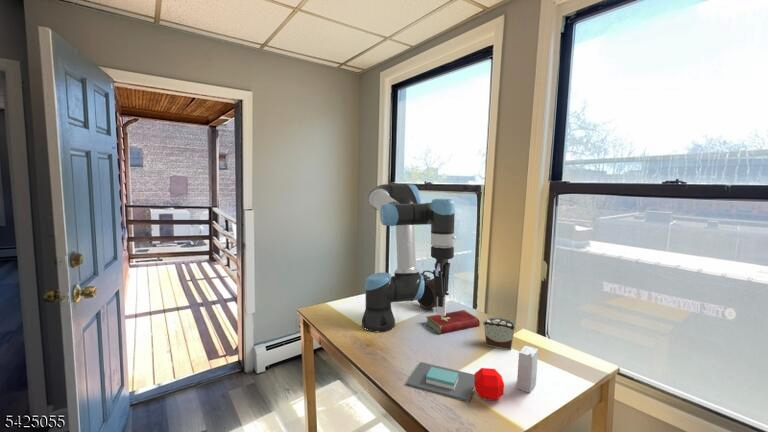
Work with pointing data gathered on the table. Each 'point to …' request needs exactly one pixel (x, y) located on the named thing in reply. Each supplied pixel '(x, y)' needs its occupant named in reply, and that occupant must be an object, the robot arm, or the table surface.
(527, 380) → the skincare box
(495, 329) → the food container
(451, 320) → the hardcover book
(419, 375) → the mat
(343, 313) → the table surface
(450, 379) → the tile
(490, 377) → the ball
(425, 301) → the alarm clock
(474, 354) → the table surface
